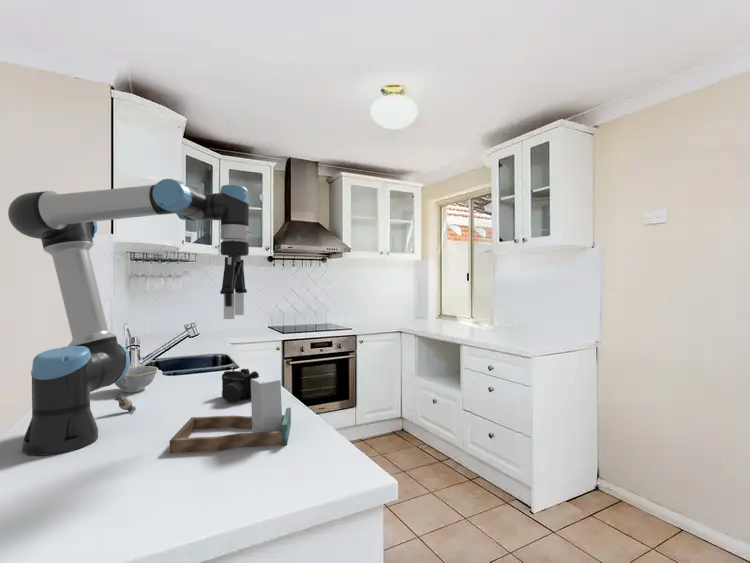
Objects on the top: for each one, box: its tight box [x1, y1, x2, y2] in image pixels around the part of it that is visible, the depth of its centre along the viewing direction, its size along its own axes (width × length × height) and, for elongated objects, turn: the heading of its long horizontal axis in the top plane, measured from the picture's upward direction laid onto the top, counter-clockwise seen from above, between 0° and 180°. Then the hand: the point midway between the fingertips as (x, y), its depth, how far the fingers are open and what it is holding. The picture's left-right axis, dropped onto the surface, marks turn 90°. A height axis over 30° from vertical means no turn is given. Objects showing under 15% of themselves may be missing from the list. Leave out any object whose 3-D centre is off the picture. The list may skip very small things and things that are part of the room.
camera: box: [221, 368, 260, 404], centre depth 145 cm, size 14×11×10 cm
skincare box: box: [250, 375, 283, 433], centre depth 111 cm, size 8×6×15 cm
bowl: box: [114, 365, 159, 393], centre depth 158 cm, size 16×16×8 cm
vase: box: [113, 393, 137, 415], centre depth 130 cm, size 5×5×6 cm
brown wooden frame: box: [169, 407, 292, 454], centre depth 109 cm, size 27×17×5 cm, turn 98°
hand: (234, 317), depth 118 cm, fingers open, 13 cm apart
